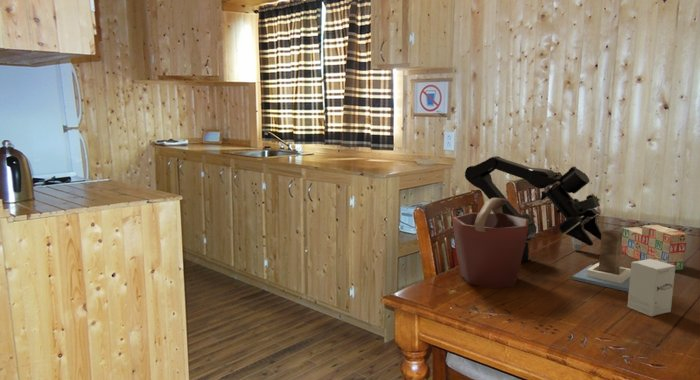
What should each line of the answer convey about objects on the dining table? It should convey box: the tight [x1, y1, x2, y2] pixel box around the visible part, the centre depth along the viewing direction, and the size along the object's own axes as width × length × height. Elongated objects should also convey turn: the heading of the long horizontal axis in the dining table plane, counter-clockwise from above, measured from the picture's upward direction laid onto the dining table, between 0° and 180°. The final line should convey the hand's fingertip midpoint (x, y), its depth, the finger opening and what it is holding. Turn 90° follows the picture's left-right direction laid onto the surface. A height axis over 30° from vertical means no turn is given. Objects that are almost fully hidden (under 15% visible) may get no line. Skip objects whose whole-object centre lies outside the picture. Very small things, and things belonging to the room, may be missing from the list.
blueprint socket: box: [571, 262, 631, 293], centre depth 159 cm, size 16×16×3 cm
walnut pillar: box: [598, 228, 623, 275], centre depth 158 cm, size 4×4×14 cm
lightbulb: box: [571, 229, 588, 251], centre depth 189 cm, size 6×6×11 cm
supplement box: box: [627, 259, 676, 317], centre depth 134 cm, size 7×7×13 cm
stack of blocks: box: [621, 224, 688, 271], centre depth 176 cm, size 21×6×12 cm, turn 12°
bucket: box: [452, 198, 528, 289], centre depth 158 cm, size 24×22×25 cm
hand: (597, 242), depth 160 cm, fingers open, 9 cm apart
